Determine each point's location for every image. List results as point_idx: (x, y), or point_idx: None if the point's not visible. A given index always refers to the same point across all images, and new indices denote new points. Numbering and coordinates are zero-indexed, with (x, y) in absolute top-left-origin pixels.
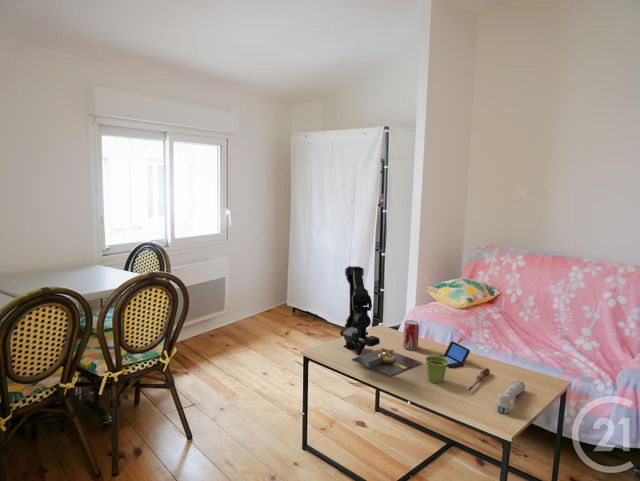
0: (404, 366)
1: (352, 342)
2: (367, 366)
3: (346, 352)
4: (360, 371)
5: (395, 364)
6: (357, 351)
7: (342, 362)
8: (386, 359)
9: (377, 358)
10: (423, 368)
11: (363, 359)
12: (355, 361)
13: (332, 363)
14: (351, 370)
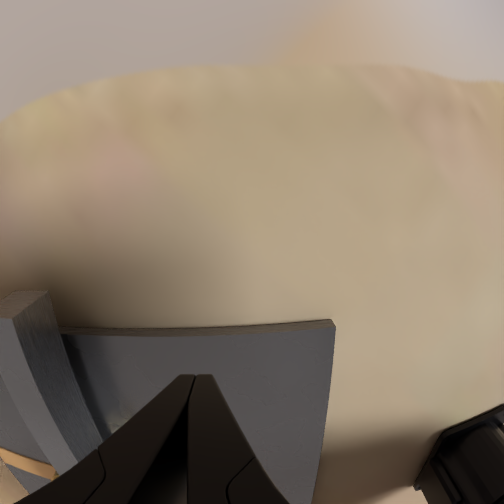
0: (16, 466)
1: (474, 470)
2: (21, 293)
3: (463, 380)
4: (36, 186)
5: (46, 468)
6: (186, 414)
7: (355, 182)
8: (54, 477)
9: (46, 448)
10: (12, 487)
11: (236, 413)
12: (266, 327)
13: (396, 69)
14: (102, 110)
